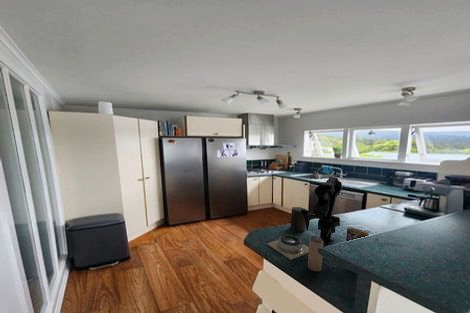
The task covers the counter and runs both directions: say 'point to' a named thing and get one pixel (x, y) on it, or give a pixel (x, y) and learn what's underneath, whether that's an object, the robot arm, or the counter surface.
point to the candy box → (355, 233)
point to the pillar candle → (297, 220)
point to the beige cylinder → (315, 253)
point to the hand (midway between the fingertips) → (316, 233)
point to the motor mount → (289, 246)
